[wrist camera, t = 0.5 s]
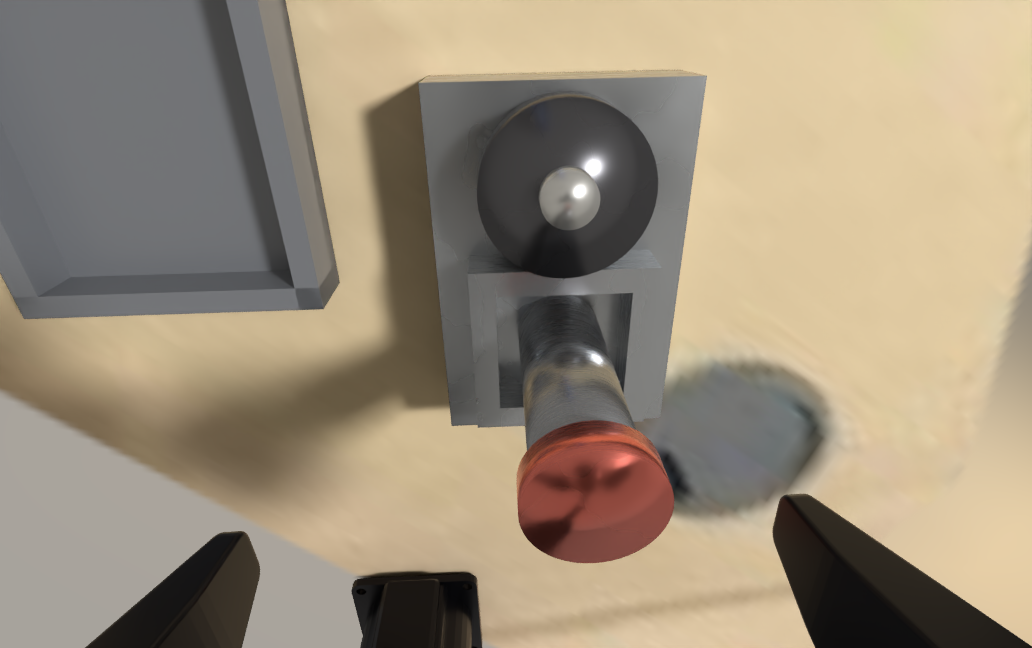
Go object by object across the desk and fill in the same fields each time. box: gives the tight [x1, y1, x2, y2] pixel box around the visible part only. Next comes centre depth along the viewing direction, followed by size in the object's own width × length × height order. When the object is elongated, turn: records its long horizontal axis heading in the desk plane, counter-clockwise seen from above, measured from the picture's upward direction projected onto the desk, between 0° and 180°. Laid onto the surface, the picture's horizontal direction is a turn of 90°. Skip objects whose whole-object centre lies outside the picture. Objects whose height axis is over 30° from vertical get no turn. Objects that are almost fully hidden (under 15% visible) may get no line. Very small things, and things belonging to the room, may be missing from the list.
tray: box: [0, 0, 340, 319], centre depth 16 cm, size 12×10×2 cm
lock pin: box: [517, 295, 674, 563], centre depth 15 cm, size 3×3×8 cm
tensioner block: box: [418, 70, 707, 427], centre depth 18 cm, size 12×8×5 cm, turn 1°
